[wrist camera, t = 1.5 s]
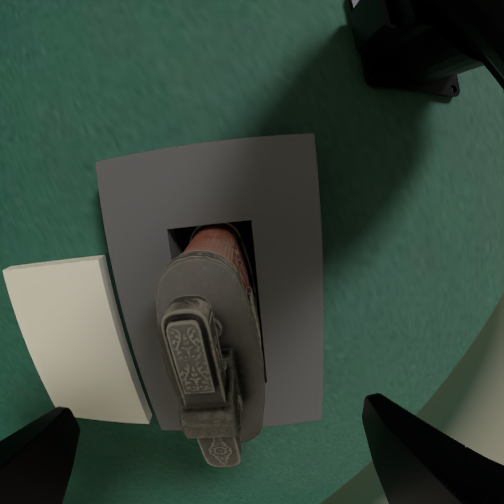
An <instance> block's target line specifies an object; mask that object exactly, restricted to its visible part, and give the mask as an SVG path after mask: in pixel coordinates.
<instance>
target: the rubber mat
mask: <svg viewBox="0 0 504 504" xmlns="http://www.w3.org/2000/svg"><path fill="white" fill-rule="evenodd" d="M3 275H4V279H5V282H6V286H7V289H8V293H9V296H10V299H11V303H12V306H13V309H14V312H15V315H16V318H17V321H18V324H19V326H20V329H21V332H22V335H23V337H24V340H25V342H26V345H27V347H28V350H29V352H30V355H31V357H32V360H33V362H34V364H35V366H36V369H37V371H38V373H39V375H40V377H41V380H42V382H43V384H44V386H45V388H46V390H47V392H48V394H49V396H50V398H51V400H52V402H53V404H54V406H55V408H56V407H58V406H62V407H68V408H69V409H70V410H71V411H72V413H73V415H74V417H77V418H85V419H93V420H102V421H112V422H123V423H138V424H149V423H150V420H151V417H152V413H151V411H150V408H149V405H148V403H147V400H146V397H145V395H144V392H143V389H142V386H141V383H140V381H139V378H138V375H137V372H136V369H135V366H134V363H133V360H132V356H131V353H130V350H129V347H128V343H127V340H126V337H125V333H124V330H123V326H122V323H121V319H120V315H119V312H118V308H117V304H116V300H115V296H114V292H113V288H112V283H111V279H110V275H109V270H108V266H107V261H106V256H105V255H99V256H90V257H81V258H73V259H65V260H56V261H48V262H40V263H32V264H24V265H16V266H10V267H8V268H6V269H4V270H3Z"/></svg>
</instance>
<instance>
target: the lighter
mask: <svg viewBox="0 0 504 504" xmlns="http://www.w3.org/2000/svg"><path fill="white" fill-rule="evenodd" d="M155 294H156V313H157V328H158V337H159V342H160V346H161V351H162V355H163V360H164V364H165V368H166V373H167V375H168V378H169V380H170V383H171V385H172V387H173V390H174V392H175V394H176V396H177V399H178V401H179V417H180V424H181V428H182V430H183V433H184V435H185V437H186V438H187V439H197V440H198V443H199V446H200V448H201V451H202V453H203V456H204V458H205V460H206V462H207V463H208V464H210V465H211V466H215V467H230V466H235V465H238V464H239V463H240V462H241V443H243V442H246V441H248V440H251V439H253V438H254V437H255V436H257V435H258V434H259V433H260V431H261V429H262V424H263V416H264V408H265V378H264V362H263V353H262V348H261V335H260V325H259V318H258V314H257V297H256V286H255V281H254V276H253V272H252V267H251V262H250V258H249V255H248V252H247V249H246V246H245V243H244V240H243V238H242V235H241V232H240V230H239V228H238V227H237V225H235V224H234V223H233V222H227V223H218V224H209V225H200V226H197V227H196V229H195V230H194V231H193V233H192V234H191V238H190V242H189V245H188V246H187V248H186V249H185V251H184V252H183V254H180V255H179V256H177V257H176V258H175V259H173V260H172V261H170V262H169V264H168V265H167V266H166V268H165V269H164V270H163V272H162V273H161V275H160V276H159V278H158V279H157V285H156V290H155Z"/></svg>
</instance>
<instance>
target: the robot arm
mask: <svg viewBox="0 0 504 504" xmlns="http://www.w3.org/2000/svg"><path fill="white" fill-rule="evenodd" d="M349 2H350V6H351V12H350V13H349V17H350V21H351V26H352V31H353V36H354V41H355V46H356V50H357V51H358V52H359V53H360V54H361V59H362V65H363V70H364V77H365V81H366V83H367V85H368V86H369V87H371V88H374V89H388V90H399V91H409V92H418V93H426V94H433V95H440V96H447V97H456V96H458V95H459V93H460V89H459V83H458V78H457V74H460V73H462V72H465V71H468V70H471V69H474V68H477V67H480V66H484V65H485V67H486V68H487V69H488V70H489V71H490V73H491V74H492V75H493V76H494V78H495V79H496V80H497V82H498V83H499V84H500V85H501V87H502V88H503V89H504V0H349ZM372 76H374V77H376V78H377V83H376V82H374V81H373V80H372ZM451 87H452V88H453V91H452V90H451ZM362 421H363V425H364V429H365V433H366V437H367V441H368V445H369V448H370V452H371V456H372V460H373V464H374V466H375V469H376V472H377V474H378V477H379V479H380V482H381V484H382V487H383V490H384V492H385V495H386V497H387V500H388V503H389V504H504V465H501V464H499V463H497V462H495V461H492V460H490V459H488V458H486V457H484V456H482V455H481V454H479V453H477V452H475V451H473V450H472V449H470V448H468V447H466V448H465V445H463V444H461V443H459V442H458V441H456V440H454V439H453V438H451V437H449V436H448V435H446V434H444V433H443V432H441V431H439V430H438V429H436V428H434V427H433V426H431V425H430V424H428V423H426V422H425V421H423V420H421V419H420V418H418V417H417V416H415V415H413V414H412V413H410V412H409V411H407V410H405V409H404V408H402V407H401V406H399V405H398V404H396V403H394V402H393V401H391V400H390V399H388V398H387V397H385V396H384V395H382V394H380V393H376V394H371V395H367V396H366V397H365V400H364V407H363V413H362ZM79 434H80V426H79V424H78V422H77V420H76V418H75V417H74V415H73V413H72V411H71V410H70V409H69V408H68V407H62V406H58V407H56V408H54V409H53V410H51V411H49V412H48V413H46V414H45V415H43V416H41V417H40V418H38V419H36V420H35V421H33V422H32V423H30V424H28V425H27V426H25V427H23V428H22V429H20V430H18V431H17V432H15V433H13V434H12V435H10V436H8V437H7V438H5V439H3V440H2V441H0V504H62V503H63V500H64V496H65V492H66V489H67V485H68V482H69V479H70V475H71V472H72V468H73V463H74V458H75V453H76V448H77V443H78V439H79Z"/></svg>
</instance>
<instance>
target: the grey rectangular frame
mask: <svg viewBox="0 0 504 504" xmlns="http://www.w3.org/2000/svg"><path fill="white" fill-rule="evenodd" d="M96 172H97V180H98V188H99V196H100V203H101V210H102V216H103V222H104V228H105V234H106V240H107V245H108V250H109V255H110V260H111V265H112V270H113V274H114V279H115V283H116V287H117V292H118V296H119V300H120V304H121V308H122V312H123V315H124V319H125V323H126V327H127V330H128V334H129V337H130V341H131V344H132V347H133V351H134V354H135V357H136V360H137V363H138V366H139V370H140V373H141V376H142V379H143V381H144V384H145V387H146V390H147V393H148V396H149V399H150V401H151V404H152V407H153V409H154V412H155V415H156V417H157V420H158V422H159V425H160V427H161V430H182V428H181V424H180V417H179V401H178V399H177V396H176V394H175V392H174V390H173V387H172V385H171V383H170V380H169V378H168V375H167V373H166V368H165V364H164V360H163V355H162V351H161V346H160V342H159V337H158V328H157V313H156V294H155V290H156V285H157V279H158V278H159V276H160V275H161V273H162V272H163V270H164V269H165V268H166V266H167V265H168V264H169V262H170V261H172V260H173V259H175V258H176V257H177V256H179V255H180V254H183V253H182V246H181V239H180V232H179V228H182V227H191V226H200V225H209V224H218V223H227V222H237V221H247V220H251V226H252V236H253V246H254V257H255V267H256V277H257V287H258V297H259V308H260V318H261V328H262V338H263V349H264V358H263V362H264V378H265V408H264V416H263V424H262V427H267V426H277V425H286V424H293V423H301V422H308V421H314V420H320V419H322V400H323V370H324V281H323V249H322V227H321V210H320V194H319V180H318V168H317V156H316V145H315V135H314V133H308V134H288V135H273V136H261V137H249V138H239V139H229V140H221V141H212V142H204V143H197V144H190V145H183V146H176V147H170V148H164V149H158V150H152V151H147V152H141V153H136V154H131V155H126V156H121V157H116V158H111V159H106V160H102V161H97V162H96Z"/></svg>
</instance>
